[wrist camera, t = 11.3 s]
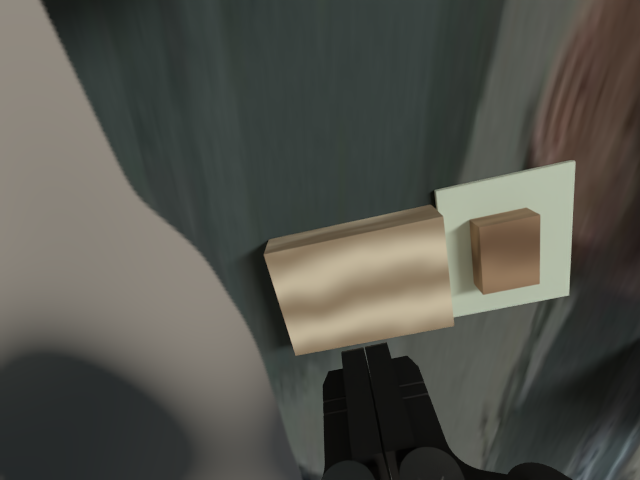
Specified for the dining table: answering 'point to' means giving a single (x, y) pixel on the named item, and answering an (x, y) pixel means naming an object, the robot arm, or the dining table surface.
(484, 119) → the dining table surface
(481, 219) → the walnut tile
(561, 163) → the sage mat
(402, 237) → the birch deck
